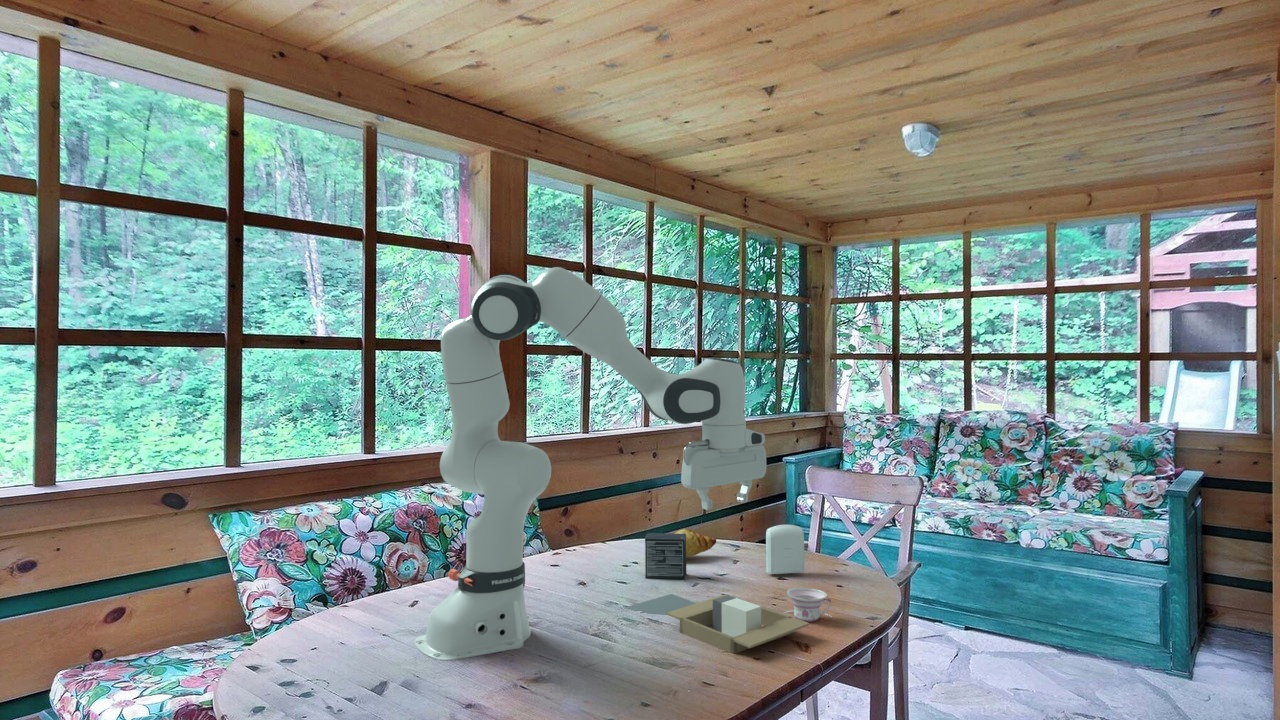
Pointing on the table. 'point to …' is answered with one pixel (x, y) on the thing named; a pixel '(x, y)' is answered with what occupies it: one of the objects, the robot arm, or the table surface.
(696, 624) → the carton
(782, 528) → the photo printer
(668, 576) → the small box
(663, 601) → the slate mat
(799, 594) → the teacup
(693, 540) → the croissant
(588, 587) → the table surface
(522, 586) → the robot arm
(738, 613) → the box
